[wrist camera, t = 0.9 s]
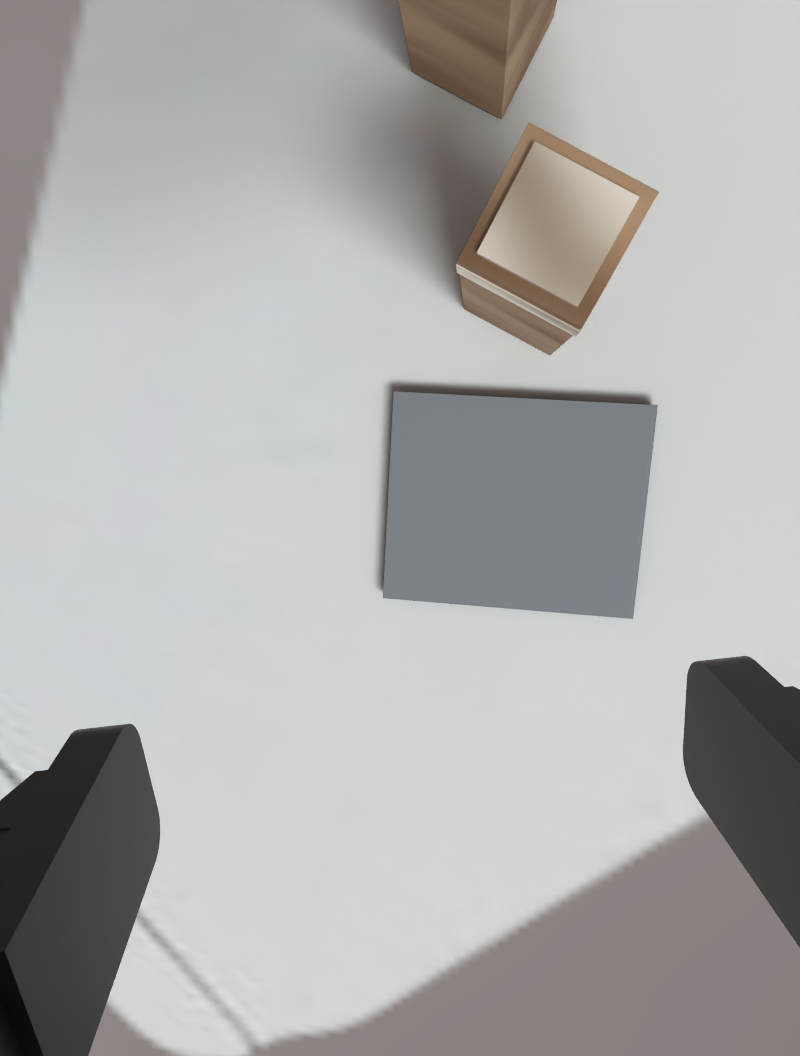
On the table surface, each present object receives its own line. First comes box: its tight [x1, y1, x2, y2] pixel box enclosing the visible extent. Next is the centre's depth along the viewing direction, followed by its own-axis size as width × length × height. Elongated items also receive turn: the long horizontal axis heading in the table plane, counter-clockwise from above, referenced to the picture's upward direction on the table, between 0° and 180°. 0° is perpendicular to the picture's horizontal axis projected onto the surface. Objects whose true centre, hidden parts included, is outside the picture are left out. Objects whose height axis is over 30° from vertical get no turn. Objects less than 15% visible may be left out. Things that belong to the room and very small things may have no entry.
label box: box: [456, 123, 659, 355], centre depth 26 cm, size 5×5×10 cm
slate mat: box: [383, 391, 658, 619], centre depth 32 cm, size 10×12×1 cm
